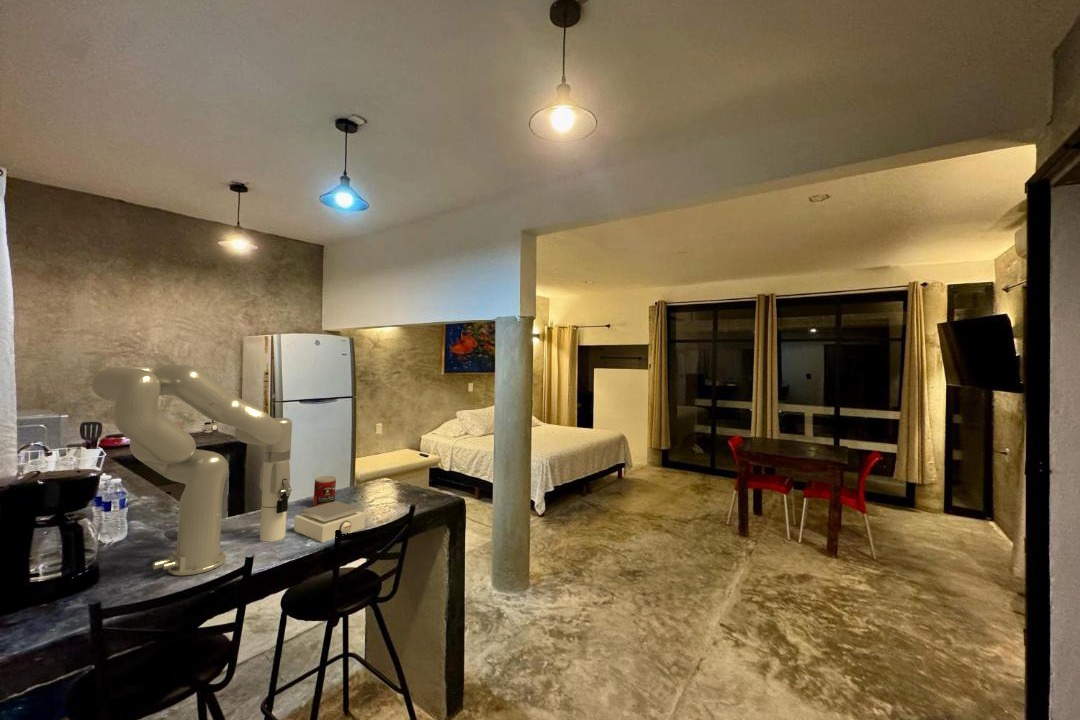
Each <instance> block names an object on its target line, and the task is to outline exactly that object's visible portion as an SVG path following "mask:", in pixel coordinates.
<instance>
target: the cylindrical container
mask: <svg viewBox="0 0 1080 720" xmlns="http://www.w3.org/2000/svg"><path fill="white" fill-rule="evenodd" d="M272 466H273V463H266V462H264V471H263V488H262V490H261V492H262V494H261V504H262V506H260V507H261V510H260V524H259V525H260V529H259V541H261V542H264V541H266V543H267V541H270V542H274V541H275V542H277V541H279V539H280V540H282V539H284V538H285V537H286V528H287V527H286V526H287V511H288V510H287V511H286V512H282V513H276V511H277V501H278V496H277V493H276V494H272V493H270V484H271V471H272ZM280 490H284V487H283V485H282V486H281V488H280ZM282 495H283V493H281V496H282Z"/></svg>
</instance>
